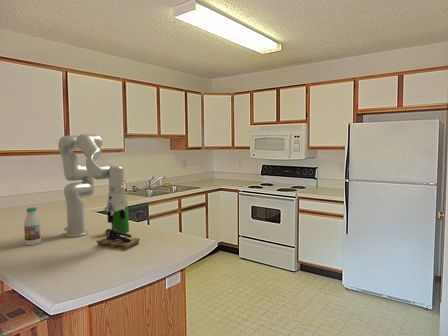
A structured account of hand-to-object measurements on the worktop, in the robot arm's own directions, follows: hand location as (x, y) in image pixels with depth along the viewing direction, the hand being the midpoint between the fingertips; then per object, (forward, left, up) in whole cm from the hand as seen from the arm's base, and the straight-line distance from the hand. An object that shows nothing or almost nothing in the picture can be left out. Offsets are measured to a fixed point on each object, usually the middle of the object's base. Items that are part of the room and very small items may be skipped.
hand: (116, 220), depth 177 cm
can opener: (+2, -1, -11) cm, 11 cm away
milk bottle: (-46, -14, -14) cm, 50 cm away
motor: (-15, +22, -14) cm, 30 cm away
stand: (+1, 0, -13) cm, 13 cm away
